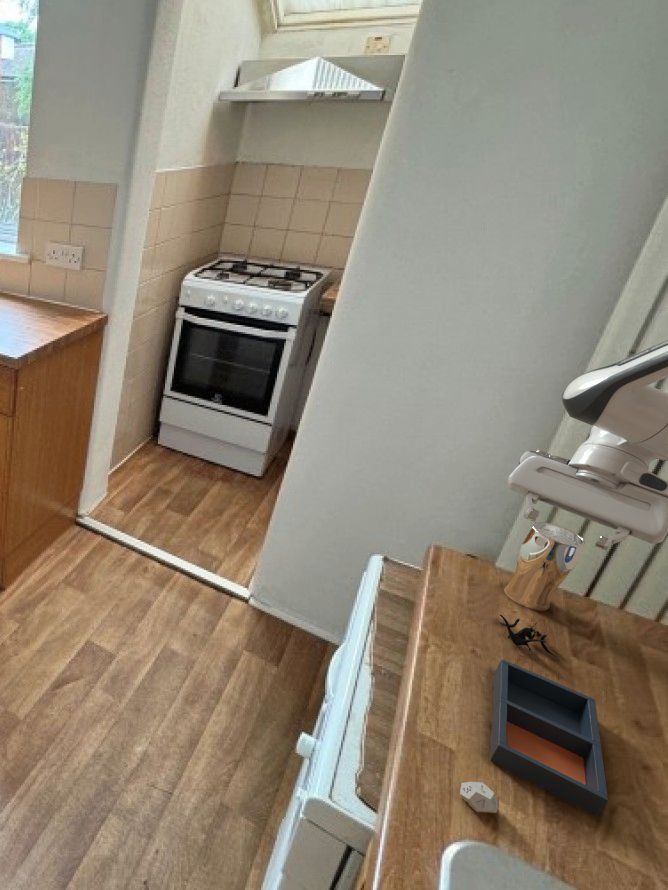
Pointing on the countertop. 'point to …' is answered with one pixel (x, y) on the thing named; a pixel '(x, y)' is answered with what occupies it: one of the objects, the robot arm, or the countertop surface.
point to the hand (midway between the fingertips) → (563, 532)
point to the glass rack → (548, 736)
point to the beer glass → (543, 564)
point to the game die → (479, 797)
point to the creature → (525, 635)
